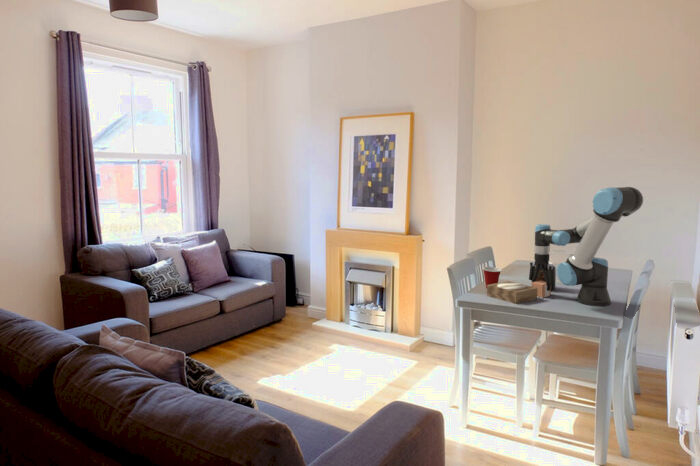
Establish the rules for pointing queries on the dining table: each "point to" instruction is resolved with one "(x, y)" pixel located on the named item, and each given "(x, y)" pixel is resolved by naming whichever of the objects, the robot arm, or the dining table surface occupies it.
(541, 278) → the jar
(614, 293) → the dining table surface
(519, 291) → the block
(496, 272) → the plastic cup
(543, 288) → the terracotta cube
